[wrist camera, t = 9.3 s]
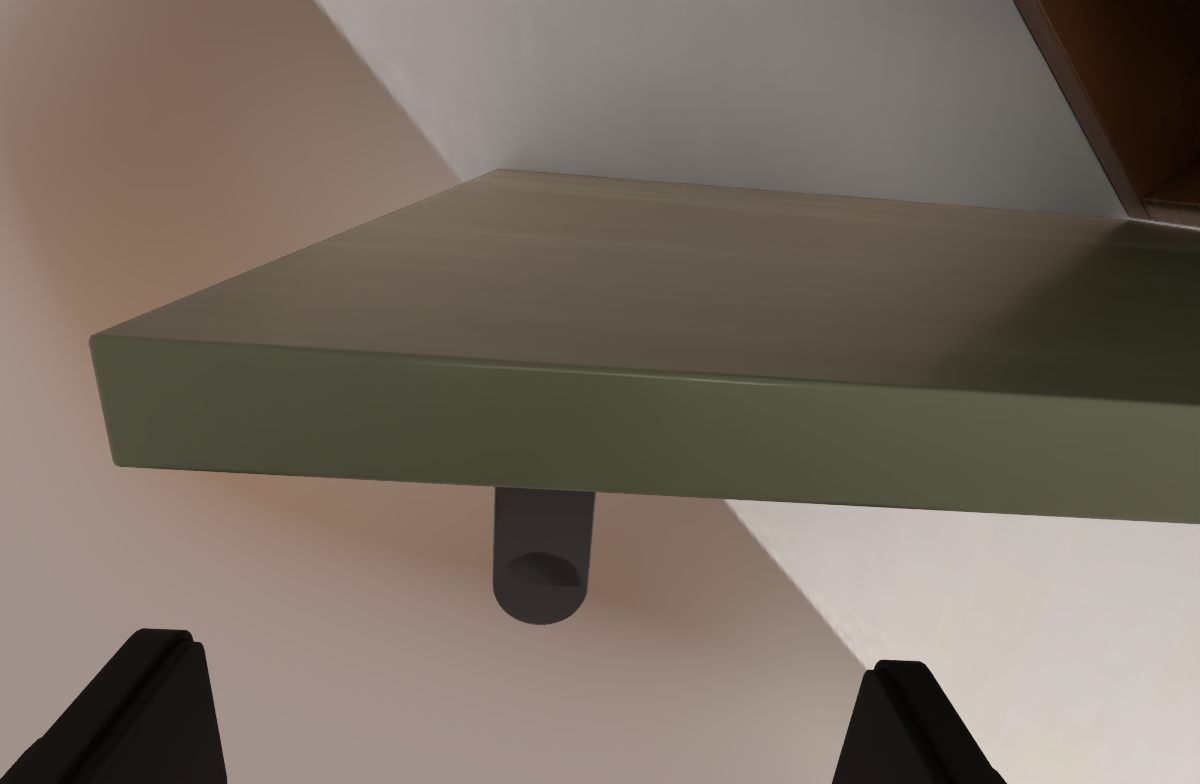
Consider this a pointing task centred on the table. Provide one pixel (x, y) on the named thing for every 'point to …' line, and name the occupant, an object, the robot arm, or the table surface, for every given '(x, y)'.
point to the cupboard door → (687, 360)
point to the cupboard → (1132, 93)
